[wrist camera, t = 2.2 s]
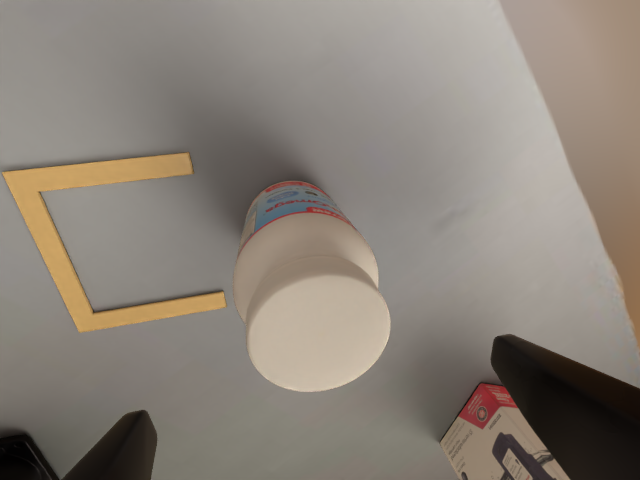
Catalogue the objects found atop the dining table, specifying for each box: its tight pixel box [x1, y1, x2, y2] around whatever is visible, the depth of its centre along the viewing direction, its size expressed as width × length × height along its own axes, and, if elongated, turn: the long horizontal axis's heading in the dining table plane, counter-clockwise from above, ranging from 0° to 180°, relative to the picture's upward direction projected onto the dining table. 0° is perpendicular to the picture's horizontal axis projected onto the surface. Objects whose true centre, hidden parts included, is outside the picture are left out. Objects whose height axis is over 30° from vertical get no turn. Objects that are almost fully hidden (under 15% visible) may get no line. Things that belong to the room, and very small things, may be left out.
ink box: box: [440, 383, 570, 480], centre depth 25 cm, size 8×5×12 cm, turn 158°
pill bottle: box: [233, 181, 391, 392], centre depth 15 cm, size 6×6×11 cm
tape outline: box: [2, 152, 227, 333], centre depth 18 cm, size 10×9×1 cm
